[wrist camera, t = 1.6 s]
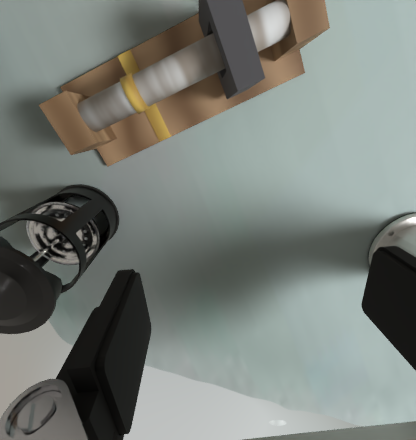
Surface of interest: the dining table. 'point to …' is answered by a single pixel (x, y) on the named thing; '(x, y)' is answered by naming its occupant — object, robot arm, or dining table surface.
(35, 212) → the french press
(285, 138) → the dining table surface
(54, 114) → the pipe stand
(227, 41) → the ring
